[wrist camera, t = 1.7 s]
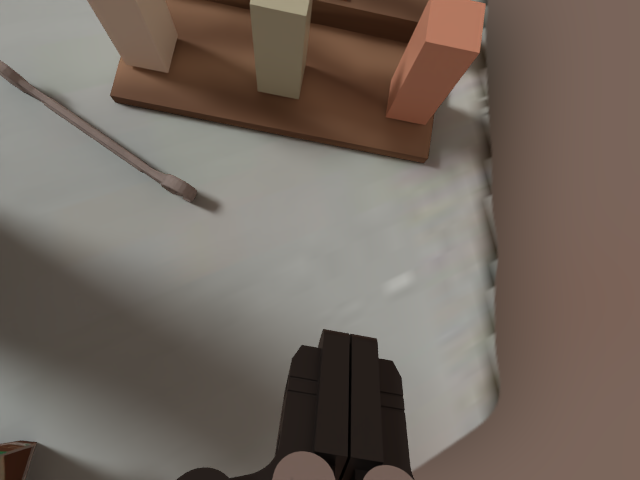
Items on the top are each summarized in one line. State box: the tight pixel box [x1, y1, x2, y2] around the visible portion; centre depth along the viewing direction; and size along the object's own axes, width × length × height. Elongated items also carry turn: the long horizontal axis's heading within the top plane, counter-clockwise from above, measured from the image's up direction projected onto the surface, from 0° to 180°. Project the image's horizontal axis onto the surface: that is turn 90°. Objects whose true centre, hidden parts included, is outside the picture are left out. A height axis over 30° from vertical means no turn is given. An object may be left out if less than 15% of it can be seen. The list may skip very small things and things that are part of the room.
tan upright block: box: [87, 0, 178, 73], centre depth 33 cm, size 4×4×11 cm
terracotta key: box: [385, 0, 486, 125], centre depth 35 cm, size 4×4×11 cm
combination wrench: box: [0, 60, 197, 202], centre depth 38 cm, size 4×1×20 cm
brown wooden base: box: [110, 0, 434, 163], centre depth 39 cm, size 13×27×4 cm, turn 80°
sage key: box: [250, 0, 313, 100], centre depth 34 cm, size 4×4×11 cm
